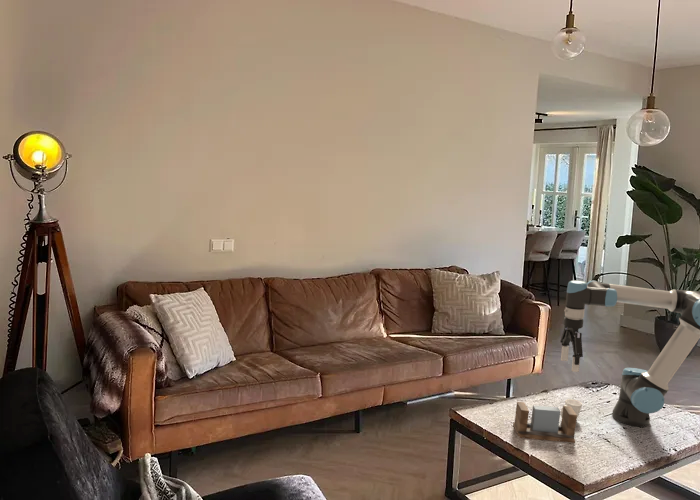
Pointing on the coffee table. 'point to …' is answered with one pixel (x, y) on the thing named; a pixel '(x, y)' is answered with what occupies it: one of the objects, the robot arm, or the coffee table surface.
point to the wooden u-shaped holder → (563, 435)
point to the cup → (573, 406)
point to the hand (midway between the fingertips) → (569, 366)
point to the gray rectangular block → (545, 419)
